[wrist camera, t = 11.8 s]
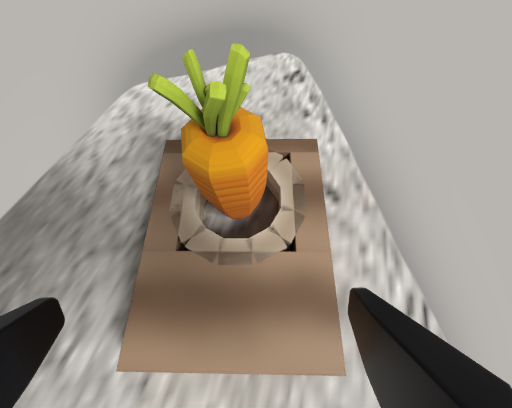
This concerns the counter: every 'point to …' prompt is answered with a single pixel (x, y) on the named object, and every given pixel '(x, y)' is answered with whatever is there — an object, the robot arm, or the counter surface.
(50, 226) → the counter surface
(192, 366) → the hole board
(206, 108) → the carrot
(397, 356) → the robot arm
